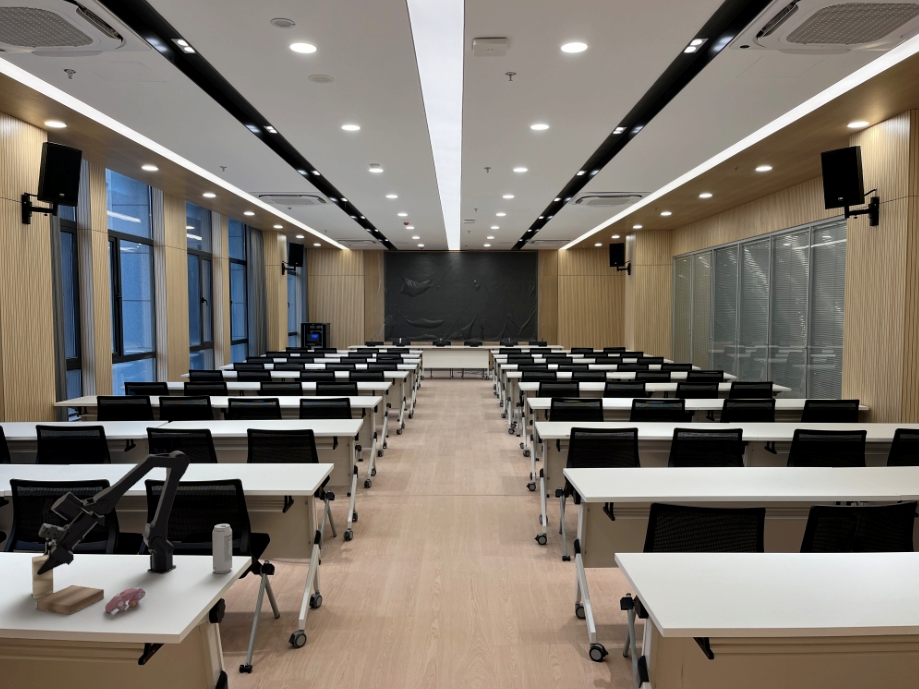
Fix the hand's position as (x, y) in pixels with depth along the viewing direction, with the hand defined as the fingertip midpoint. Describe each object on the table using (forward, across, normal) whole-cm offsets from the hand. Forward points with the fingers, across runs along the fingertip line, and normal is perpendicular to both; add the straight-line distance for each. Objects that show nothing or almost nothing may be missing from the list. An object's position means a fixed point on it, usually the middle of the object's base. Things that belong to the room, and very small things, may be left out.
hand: (37, 571), depth 200 cm
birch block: (+4, 0, +6) cm, 7 cm away
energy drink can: (-31, +13, +41) cm, 53 cm away
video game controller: (-9, +26, +19) cm, 34 cm away
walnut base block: (0, +13, +10) cm, 17 cm away
